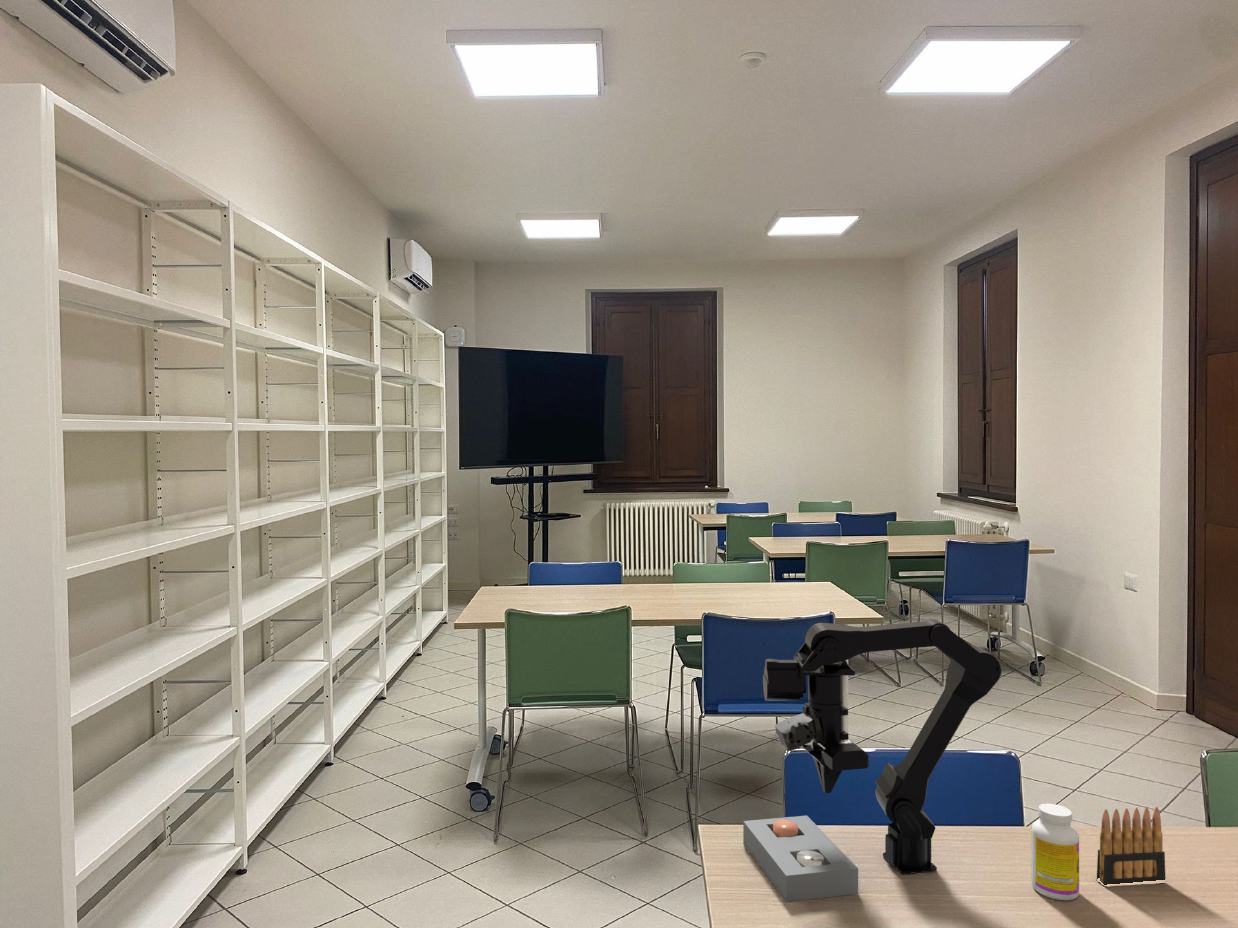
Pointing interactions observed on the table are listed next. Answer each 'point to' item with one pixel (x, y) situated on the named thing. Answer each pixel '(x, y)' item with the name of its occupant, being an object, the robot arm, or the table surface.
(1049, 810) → the supplement bottle
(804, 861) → the steel plunger
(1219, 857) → the table surface
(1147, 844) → the ammunition clip
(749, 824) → the panel
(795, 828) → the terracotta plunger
